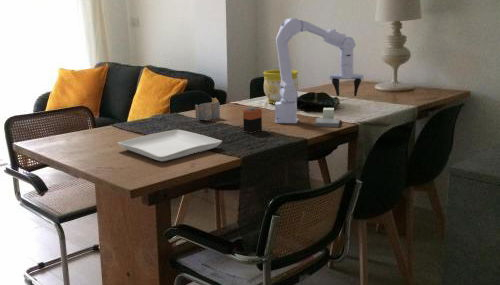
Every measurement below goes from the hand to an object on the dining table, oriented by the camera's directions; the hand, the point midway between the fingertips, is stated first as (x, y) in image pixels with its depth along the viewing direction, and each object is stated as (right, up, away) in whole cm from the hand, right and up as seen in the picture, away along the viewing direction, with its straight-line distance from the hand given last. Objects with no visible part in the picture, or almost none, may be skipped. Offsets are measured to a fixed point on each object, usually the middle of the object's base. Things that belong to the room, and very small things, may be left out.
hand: (346, 95), depth 225 cm
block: (-8, -11, +1) cm, 13 cm away
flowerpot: (-26, 0, +45) cm, 52 cm away
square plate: (-71, -24, -42) cm, 86 cm away
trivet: (-10, -13, -7) cm, 18 cm away
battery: (-41, -16, -17) cm, 48 cm away
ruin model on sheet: (-62, -11, +8) cm, 63 cm away
